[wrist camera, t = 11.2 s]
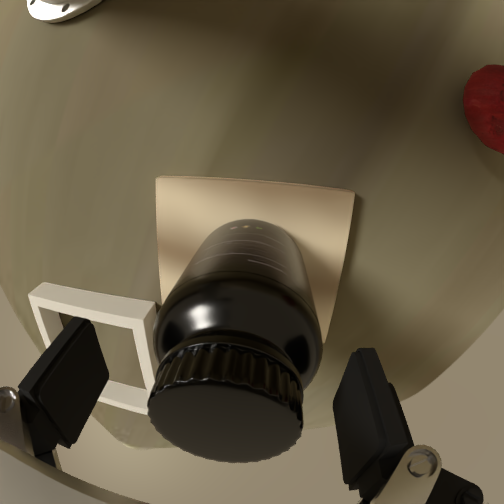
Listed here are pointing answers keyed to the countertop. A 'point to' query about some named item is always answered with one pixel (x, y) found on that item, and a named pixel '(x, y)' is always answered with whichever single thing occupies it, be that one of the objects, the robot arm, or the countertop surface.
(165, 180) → the board
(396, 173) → the countertop surface
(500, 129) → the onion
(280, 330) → the supplement bottle
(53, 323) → the white square frame
